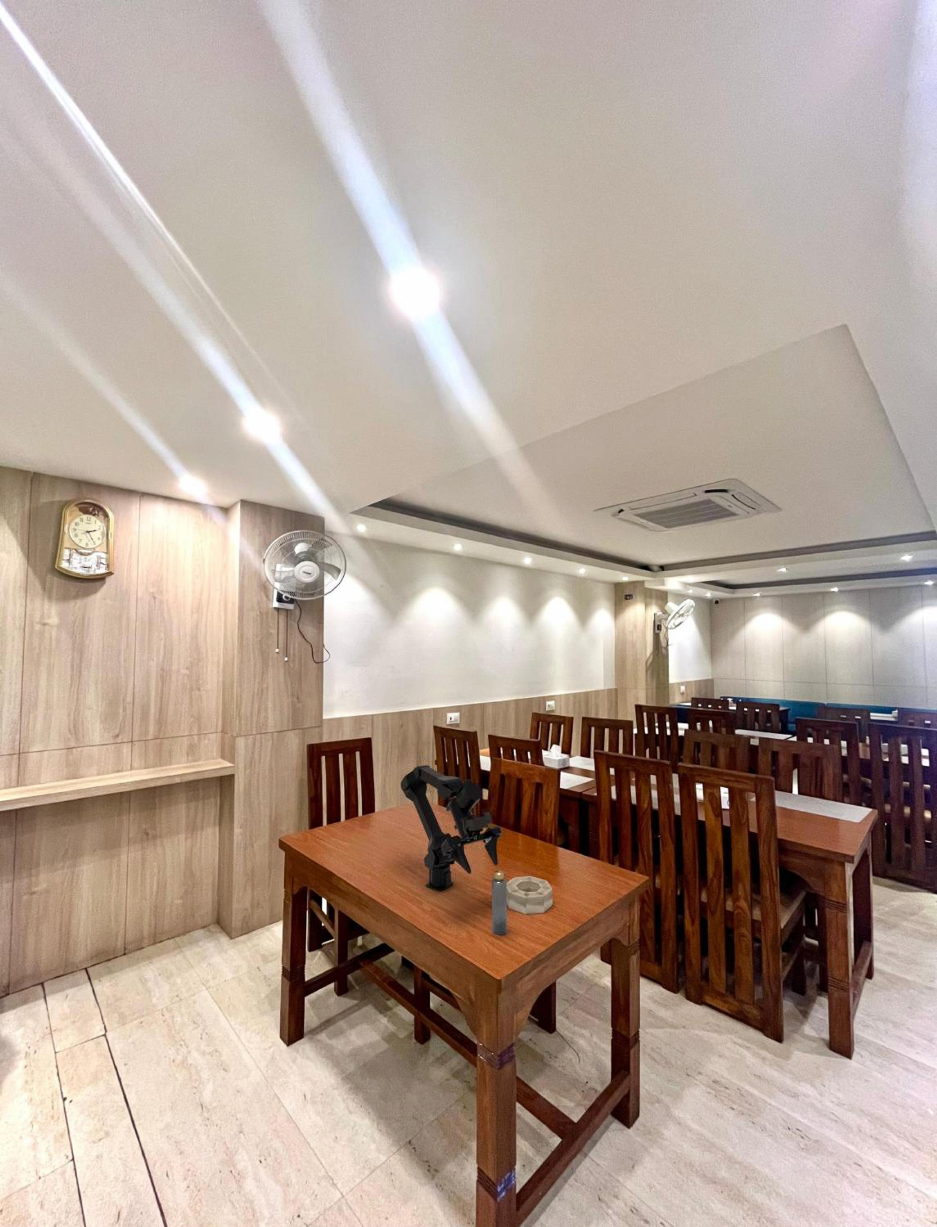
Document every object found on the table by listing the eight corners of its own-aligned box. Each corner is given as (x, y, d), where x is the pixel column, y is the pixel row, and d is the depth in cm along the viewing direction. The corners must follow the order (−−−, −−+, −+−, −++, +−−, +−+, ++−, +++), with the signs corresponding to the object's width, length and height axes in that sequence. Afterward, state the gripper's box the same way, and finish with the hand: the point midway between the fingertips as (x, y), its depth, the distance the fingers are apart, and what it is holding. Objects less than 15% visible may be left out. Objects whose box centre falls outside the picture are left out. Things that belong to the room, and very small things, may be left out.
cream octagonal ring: (498, 904, 147) (498, 889, 148) (520, 887, 158) (520, 873, 158) (538, 918, 140) (537, 901, 140) (558, 899, 150) (557, 883, 151)
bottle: (489, 931, 133) (488, 873, 134) (497, 925, 136) (496, 868, 138) (502, 936, 131) (501, 877, 132) (510, 929, 134) (509, 871, 135)
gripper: (447, 809, 142) (468, 864, 132) (499, 798, 152) (522, 848, 142) (432, 828, 148) (451, 882, 138) (483, 816, 158) (504, 865, 149)
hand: (483, 869), depth 142 cm, fingers open, 9 cm apart
